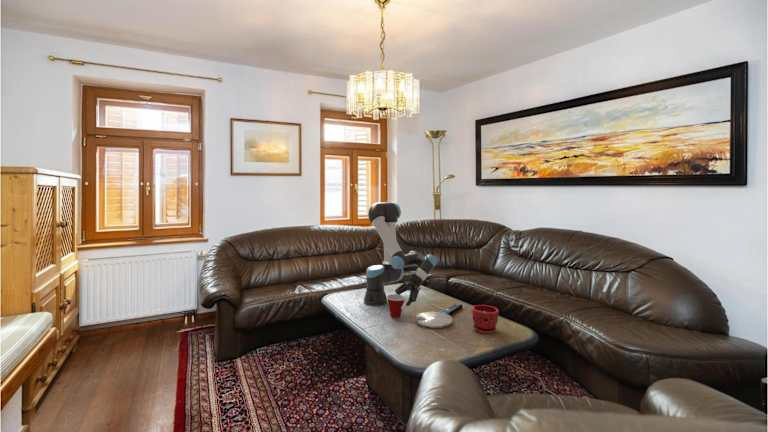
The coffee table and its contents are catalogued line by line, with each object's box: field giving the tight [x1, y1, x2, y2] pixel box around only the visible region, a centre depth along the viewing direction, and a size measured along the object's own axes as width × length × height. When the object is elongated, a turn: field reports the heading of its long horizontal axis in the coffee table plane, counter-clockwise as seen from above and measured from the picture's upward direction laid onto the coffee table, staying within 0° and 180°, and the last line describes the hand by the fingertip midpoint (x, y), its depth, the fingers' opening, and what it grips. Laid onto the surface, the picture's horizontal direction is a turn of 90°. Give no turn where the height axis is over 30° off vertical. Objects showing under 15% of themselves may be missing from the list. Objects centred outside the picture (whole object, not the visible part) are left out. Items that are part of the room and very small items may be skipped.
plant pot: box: [471, 304, 500, 335], centre depth 192 cm, size 13×13×12 cm
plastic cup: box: [386, 293, 406, 319], centre depth 214 cm, size 11×11×12 cm
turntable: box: [415, 311, 453, 329], centre depth 205 cm, size 20×20×2 cm
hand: (396, 306), depth 213 cm, fingers open, 13 cm apart
